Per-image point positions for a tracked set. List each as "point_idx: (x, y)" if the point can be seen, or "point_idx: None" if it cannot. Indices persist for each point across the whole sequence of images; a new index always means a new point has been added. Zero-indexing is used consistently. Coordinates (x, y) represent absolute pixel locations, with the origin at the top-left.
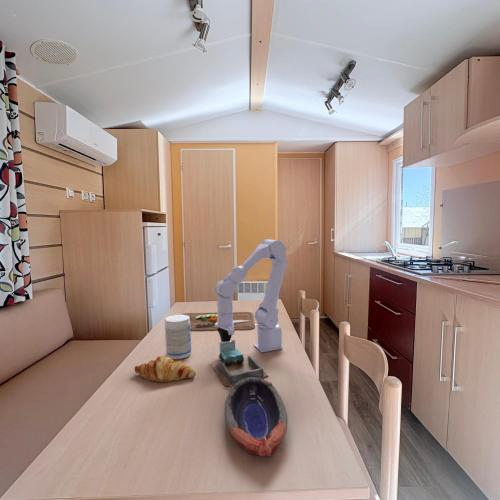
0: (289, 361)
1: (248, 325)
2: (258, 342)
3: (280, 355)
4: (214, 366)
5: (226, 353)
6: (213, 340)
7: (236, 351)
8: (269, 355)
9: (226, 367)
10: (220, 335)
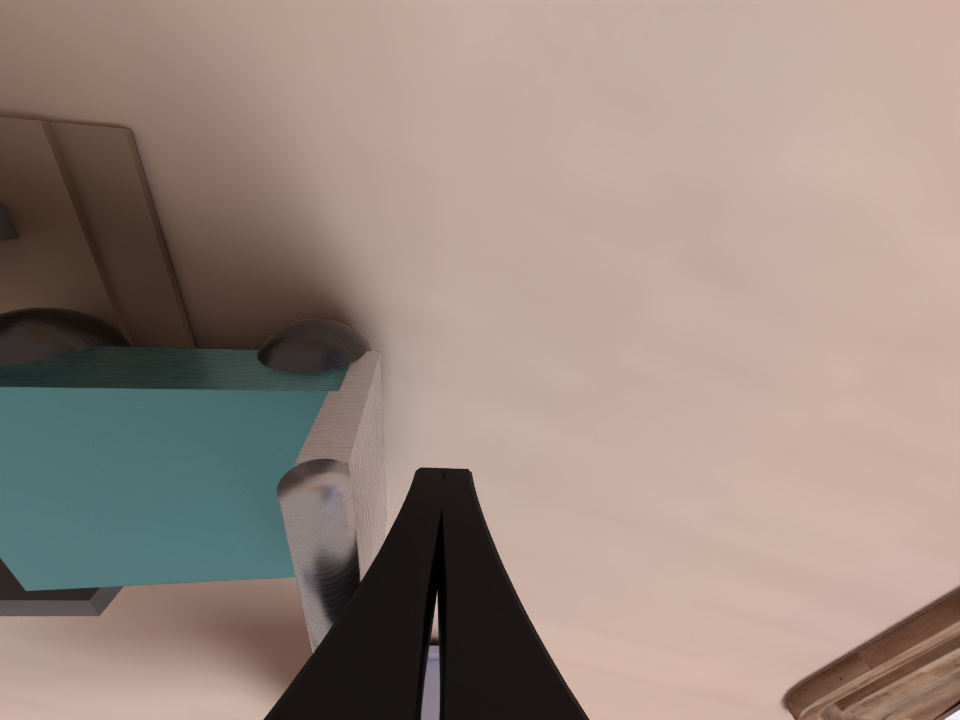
0: (163, 702)
1: (856, 713)
2: (434, 716)
3: (273, 696)
4: (135, 166)
5: (127, 436)
6: (904, 433)
7: (190, 559)
8: (296, 659)
9: (55, 307)
10: (449, 708)
